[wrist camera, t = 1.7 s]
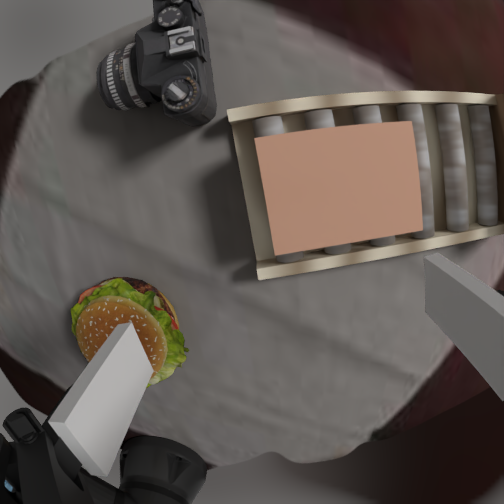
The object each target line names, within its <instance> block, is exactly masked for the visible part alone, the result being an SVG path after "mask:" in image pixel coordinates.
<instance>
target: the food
mask: <svg viewBox="0 0 504 504" xmlns="http://www.w3.org/2000/svg"><path fill="white" fill-rule="evenodd" d="M71 315H72V322H73V323H72V332H73V334H74V335H75V336H76V340H77V342H78V345H79V347H80V349H81V353H82V354H83V355H84V357H85V358H86V359H87V361H88V362H90V361H91V360H92V358H93V357H94V356H95V354H96V353H97V352H98V350H99V349H100V348H101V346H102V345H103V344H104V342H105V341H106V340H107V338H108V337H109V336H110V334H111V333H112V332H113V330H114V329H115V328H116V326H117V325H118V324H124V323H130V322H132V324H133V326H134V329H135V331H136V333H137V335H138V338H139V340H140V342H141V344H142V347H143V349H144V351H145V353H146V355H147V358H148V360H149V362H150V364H151V366H152V368H153V370H154V371H153V373H152V376H151V378H150V380H149V382H148V384H147V387H146V388H148V387H149V386H150V385H152V384H157V383H158V382H160V381H162V380H165V379H166V378H168V377H169V376H170V375H172V374H173V372H174V370H175V368H176V367H181V368H182V363H183V362H185V360H186V355H185V354H184V351H186V352H188V351H189V349H188V348H185V347H184V337H183V334H182V333H181V332H180V331H179V323H178V319H177V316H176V313H175V310H174V308H173V306H172V305H171V304H170V302H169V301H168V300H167V299H166V297H165V296H164V295H163V294H162V293H161V292H160V291H158V290H157V289H156V288H155V287H153V286H152V285H150V284H149V283H146V282H144V281H142V280H138V279H133V278H128V277H113V278H110V279H108V280H105V281H102V282H101V283H100V284H98V285H97V286H94V287H92V288H90V289H88V290H86V291H84V292H83V293H82V294H81V295H80V298H79V301H78V303H77V304H76V305H75V306H74V307H73V308H71Z"/></svg>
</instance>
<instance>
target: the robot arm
mask: <svg viewBox="0 0 504 504" xmlns="http://www.w3.org/2000/svg"><path fill="white" fill-rule="evenodd" d="M424 274H425V312H426V313H427V314H428V315H429V316H430V318H431V319H432V320H433V321H434V322H435V323H436V324H437V325H438V326H439V327H440V328H441V329H442V331H443V332H444V333H445V334H446V335H447V336H448V337H449V338H450V339H451V340H452V342H453V343H454V344H455V345H456V346H457V347H458V348H459V350H460V351H461V352H462V353H463V354H464V355H465V356H466V358H467V359H468V360H469V361H470V362H471V363H472V364H473V366H474V367H475V368H476V369H477V370H478V372H479V373H480V374H481V375H482V376H483V378H484V379H485V380H486V381H487V382H488V384H489V385H490V386H491V387H492V388H493V390H494V391H495V392H496V393H497V395H498V396H499V397H500V398H501V399H502V401H503V400H504V291H501V290H498V291H495V290H494V289H492V288H491V287H489V286H488V285H486V284H485V283H484V282H482V281H481V280H479V279H478V278H476V277H475V276H473V275H472V274H470V273H469V272H467V271H466V270H464V269H463V268H461V267H460V266H458V265H456V264H455V263H453V262H452V261H450V260H449V259H447V258H446V257H444V256H442V255H441V254H439V253H435V254H432V255H428V256H424ZM153 371H154V370H153V368H152V366H151V364H150V362H149V360H148V358H147V355H146V353H145V351H144V349H143V347H142V344H141V342H140V340H139V338H138V335H137V333H136V331H135V329H134V326H133V324H132V322H130V323H124V324H118V325H117V326H116V328H115V329H114V330H113V332H112V333H111V334H110V336H109V337H108V338H107V340H106V341H105V342H104V344H103V345H102V346H101V348H100V349H99V350H98V352H97V353H96V354H95V356H94V357H93V358H92V360H91V361H90V362H89V364H88V365H87V366H86V368H85V369H84V371H83V372H82V373H81V375H80V376H79V378H78V379H77V380H76V382H75V383H74V384H73V385H72V386H70V387H69V388H68V389H67V390H66V392H65V393H64V394H63V396H62V397H61V399H60V400H59V401H58V403H57V406H55V407H54V409H53V410H52V411H51V413H50V414H49V416H48V417H47V419H46V420H45V422H44V423H43V425H42V426H41V424H40V423H39V421H38V420H37V419H36V417H35V416H34V415H33V413H32V412H31V410H30V409H28V408H20V409H17V410H15V411H13V412H12V413H10V414H9V415H8V416H7V417H6V419H5V420H4V422H3V427H4V428H5V430H6V431H7V432H8V434H9V435H10V436H11V438H12V439H13V440H14V442H8V441H7V440H6V439H5V437H4V436H3V435H2V434H1V433H0V504H192V502H193V500H194V499H195V497H196V496H197V494H198V493H199V491H200V490H201V488H202V486H203V484H204V483H205V480H206V474H207V466H206V464H205V462H204V460H203V459H202V458H201V457H200V456H199V455H198V454H197V453H196V452H194V451H193V450H191V449H190V448H188V447H186V446H184V445H182V444H180V443H177V442H175V441H172V440H169V439H165V438H160V437H154V436H140V437H135V438H132V439H130V440H128V441H127V442H126V443H125V444H124V446H123V449H122V451H121V454H120V482H121V484H120V487H119V489H118V488H116V487H114V486H112V485H111V484H109V483H107V482H105V481H104V480H102V479H100V478H98V477H97V476H103V477H108V475H109V473H110V470H111V468H112V465H113V463H114V461H115V458H116V456H117V453H118V451H119V449H120V446H121V444H122V442H123V439H124V437H125V435H126V432H127V430H128V428H129V425H130V423H131V421H132V418H133V416H134V414H135V412H136V409H137V407H138V405H139V402H140V400H141V398H142V396H143V393H144V391H145V389H146V387H147V384H148V382H149V380H150V378H151V376H152V373H153ZM82 465H83V467H84V468H85V469H86V470H85V469H84V468H82V467H81V466H82Z"/></svg>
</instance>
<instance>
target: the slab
mask: <svg viewBox="0 0 504 504" xmlns="http://www.w3.org/2000/svg"><path fill="white" fill-rule="evenodd" d="M254 139H255V145H256V150H257V156H258V161H259V167H260V172H261V178H262V183H263V189H264V195H265V200H266V206H267V212H268V218H269V224H270V229H271V235H272V241H273V247H274V253H275V256H276V255H282V254H288V253H294V252H299V251H305V250H311V249H317V248H323V247H329V246H335V245H341V244H347V243H352V242H358V241H364V240H370V239H376V238H382V237H387V236H393V235H399V234H405V233H410V232H416V231H422V230H423V219H422V203H421V190H420V179H419V169H418V161H417V153H416V145H415V138H414V132H413V125H412V121H401V122H384V123H370V124H358V125H348V126H338V127H329V128H320V129H312V130H305V131H297V132H290V133H283V134H277V135H270V136H264V137H258V138H254Z"/></svg>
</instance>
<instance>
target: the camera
mask: <svg viewBox="0 0 504 504" xmlns="http://www.w3.org/2000/svg"><path fill="white" fill-rule="evenodd" d="M153 8H154V18H153V19H152V23H151V24H149V25H147V26H145V27H143V28H142V29H140V30H138V31H137V33H136V34H135V43H131V44H128V45H127V47H124V48H123V49H119V50H116V51H113V52H111V53H110V55H107V56H106V57H105V58H104V59H103V61H102V62H100V63H99V65H98V68H97V85H98V89H99V92H100V95H101V97H102V99H103V101H104V102H105V104H106V105H107V106H108V107H110V108H115V109H116V110H121V109H122V110H129V109H132V108H134V107H146V106H147V107H150V105H151V104H152V103H157V102H160V101H161V100H162V102H163V108H164V115H166V116H169V117H171V118H173V119H176V120H179V121H182V122H183V123H185V124H187V125H189V126H195V125H201V124H205V123H208V122H209V121H211V120H212V119H213V118H214V116H215V114H216V107H217V104H216V97H215V93H214V83H213V73H212V68H211V59H210V52H209V42H208V36H207V28H206V25H205V18H204V13H203V10H202V8H201V5H200V3H199V0H153Z"/></svg>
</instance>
